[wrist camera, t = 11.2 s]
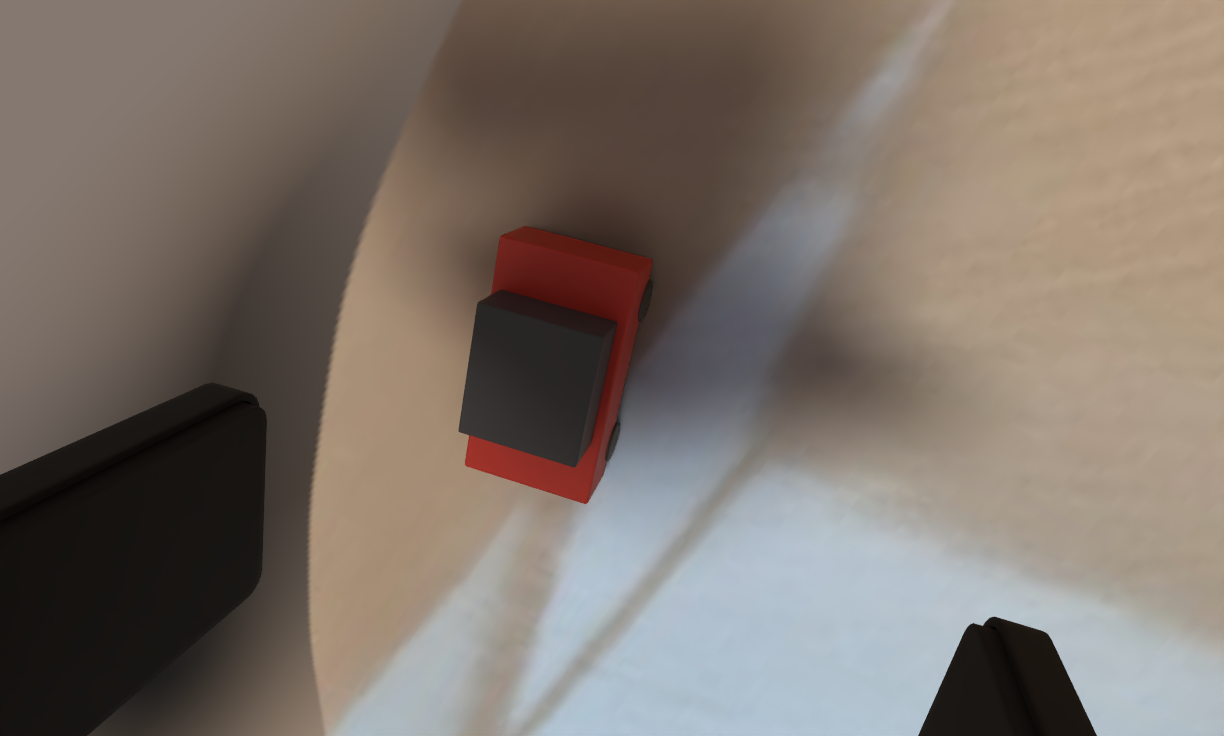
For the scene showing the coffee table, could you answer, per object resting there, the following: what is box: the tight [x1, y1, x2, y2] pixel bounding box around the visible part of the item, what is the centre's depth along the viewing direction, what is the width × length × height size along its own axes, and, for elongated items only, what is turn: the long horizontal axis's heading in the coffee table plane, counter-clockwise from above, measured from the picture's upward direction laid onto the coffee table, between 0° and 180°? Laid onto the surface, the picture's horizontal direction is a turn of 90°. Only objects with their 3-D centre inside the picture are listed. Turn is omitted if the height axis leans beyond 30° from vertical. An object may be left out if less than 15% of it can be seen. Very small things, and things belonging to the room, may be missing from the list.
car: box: [459, 226, 653, 504], centre depth 24 cm, size 8×5×5 cm, turn 168°
